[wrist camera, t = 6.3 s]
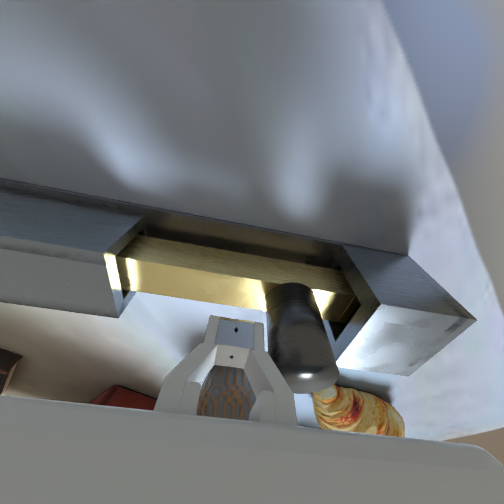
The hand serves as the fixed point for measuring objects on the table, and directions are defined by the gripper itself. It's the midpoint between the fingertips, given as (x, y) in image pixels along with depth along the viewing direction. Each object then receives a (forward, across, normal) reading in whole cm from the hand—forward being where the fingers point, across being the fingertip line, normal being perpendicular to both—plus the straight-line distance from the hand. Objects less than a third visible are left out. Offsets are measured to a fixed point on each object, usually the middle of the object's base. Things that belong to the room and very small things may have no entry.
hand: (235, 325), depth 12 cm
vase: (+6, -2, +17) cm, 18 cm away
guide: (+6, +5, 0) cm, 8 cm away
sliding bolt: (+5, +3, 0) cm, 6 cm away
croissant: (+7, -21, +22) cm, 31 cm away
